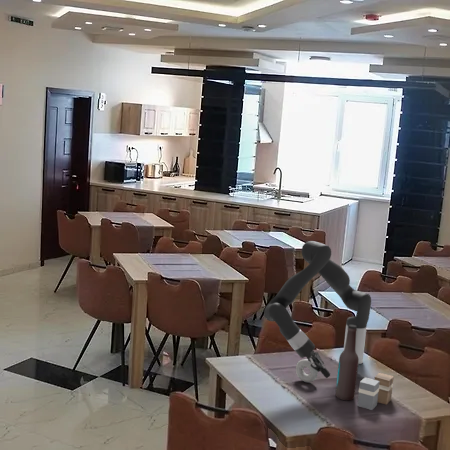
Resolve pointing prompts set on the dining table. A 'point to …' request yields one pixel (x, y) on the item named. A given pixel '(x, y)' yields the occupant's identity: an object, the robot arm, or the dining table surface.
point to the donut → (302, 374)
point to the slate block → (368, 393)
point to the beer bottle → (348, 367)
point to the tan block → (384, 387)
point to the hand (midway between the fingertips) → (328, 376)
